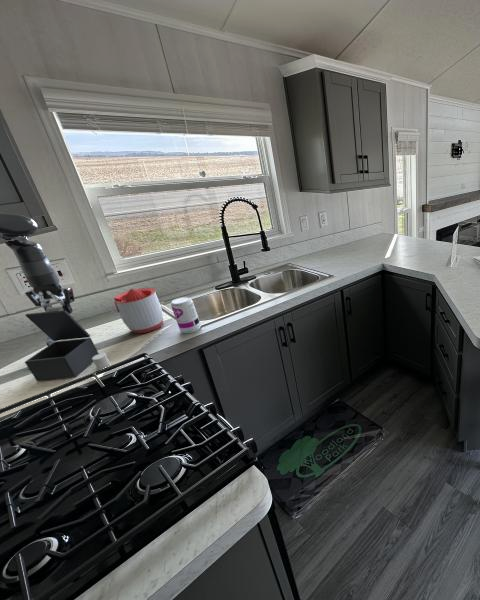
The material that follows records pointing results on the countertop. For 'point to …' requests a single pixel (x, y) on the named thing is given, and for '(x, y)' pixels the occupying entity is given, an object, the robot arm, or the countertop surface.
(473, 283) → the countertop surface
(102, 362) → the cylinder
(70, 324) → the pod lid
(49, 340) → the eagle figurine
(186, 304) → the supplement can
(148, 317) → the citrus juicer
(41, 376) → the black tray box
